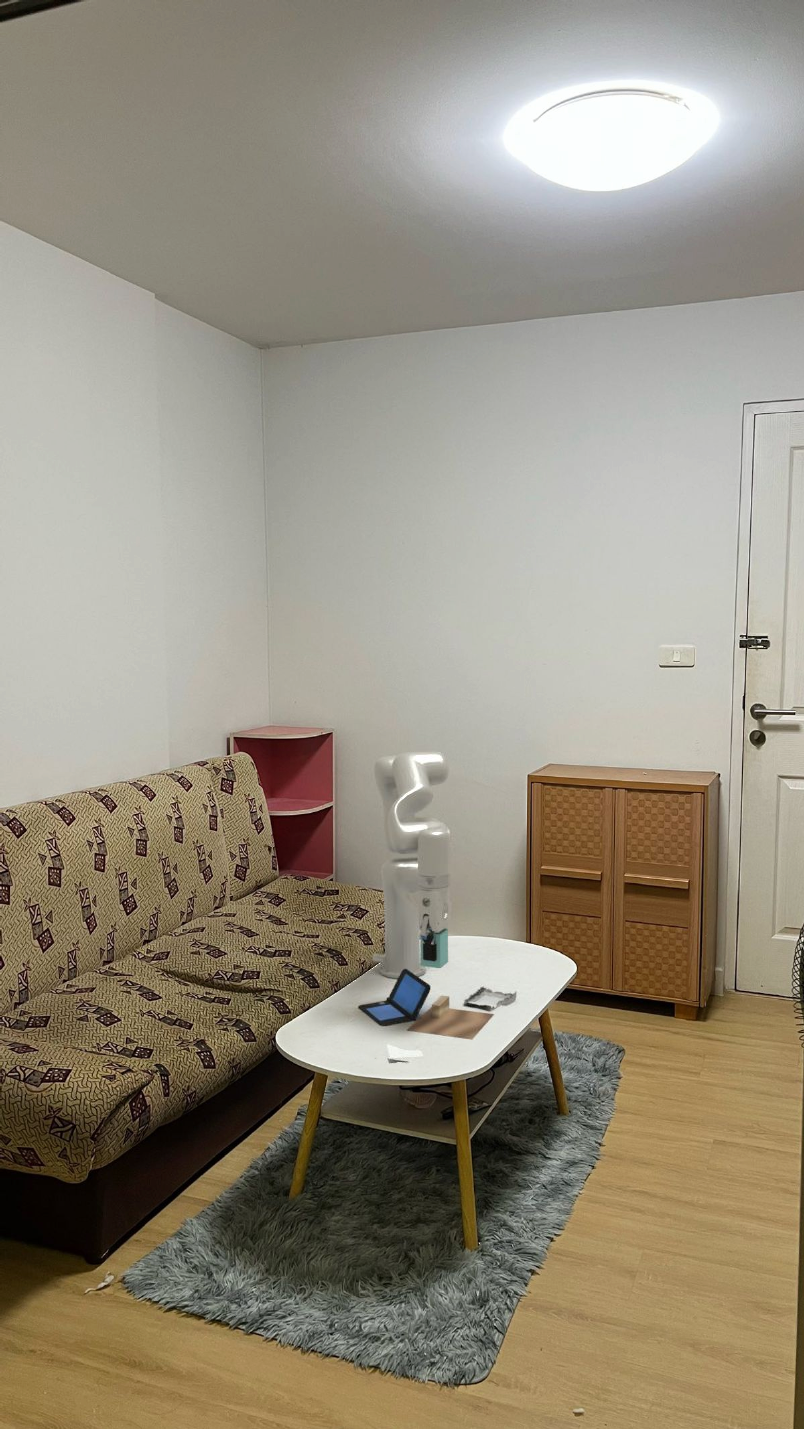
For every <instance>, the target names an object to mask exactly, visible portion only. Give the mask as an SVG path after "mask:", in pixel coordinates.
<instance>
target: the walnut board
mask: <svg viewBox="0 0 804 1429" xmlns="http://www.w3.org/2000/svg"><path fill="white" fill-rule="evenodd" d="M494 1015H495V1013H489V1012H488V1013H487V1012H480V1011H479V1012H478V1011H473V1010H467V1009H466V1010H465V1009H458V1008H457V1009H456V1008H451V1007H450V996H448V995H441V996H439V997H438V999H436V1000H435V1001H434V1002H433V1003H432V1004H431V1006H430V1007H429V1009H427V1010H426V1011H425V1012H424V1013H423V1014H422V1015H421V1016H420V1017H419V1018H418V1019H416V1021H414V1023H412V1025H411V1026H410V1027H408V1028H407V1029H406V1031H408V1032H415V1033H421V1034H422V1033H423V1034H428V1035H437V1036H444V1037H450V1038H451V1037H452V1038H457V1039H465V1040H473V1039H474V1038H475V1037H476V1036H477V1035H478V1034H479V1033H480V1031H481V1030H482V1029H483V1028H484V1027H485V1026H486V1024H487V1023H488V1022H489V1021H490V1020H491V1019H492V1018H493V1017H494Z"/></svg>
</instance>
